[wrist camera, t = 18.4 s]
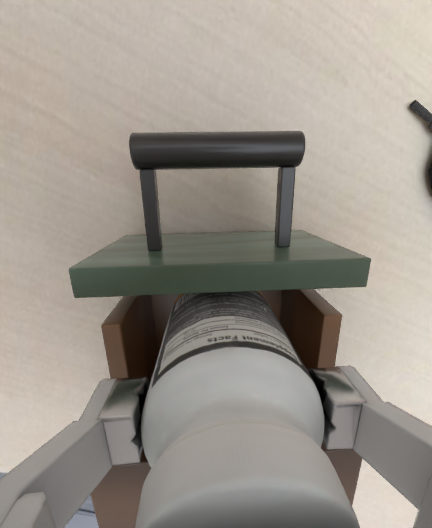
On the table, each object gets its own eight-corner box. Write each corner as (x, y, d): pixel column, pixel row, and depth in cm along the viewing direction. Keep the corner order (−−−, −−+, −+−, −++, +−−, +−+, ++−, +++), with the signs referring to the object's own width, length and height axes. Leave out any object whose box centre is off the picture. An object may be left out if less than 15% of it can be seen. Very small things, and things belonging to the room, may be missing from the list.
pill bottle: (252, 363, 15) (331, 645, 6) (162, 348, 15) (87, 636, 5) (280, 281, 14) (447, 486, 4) (180, 260, 13) (118, 447, 4)
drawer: (113, 150, 14) (35, 115, 7) (309, 147, 14) (397, 112, 8) (147, 403, 19) (118, 511, 13) (288, 395, 20) (330, 496, 13)
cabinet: (135, 345, 19) (82, 467, 10) (296, 338, 19) (365, 448, 11) (153, 477, 23) (125, 637, 15) (284, 468, 24) (328, 618, 15)
